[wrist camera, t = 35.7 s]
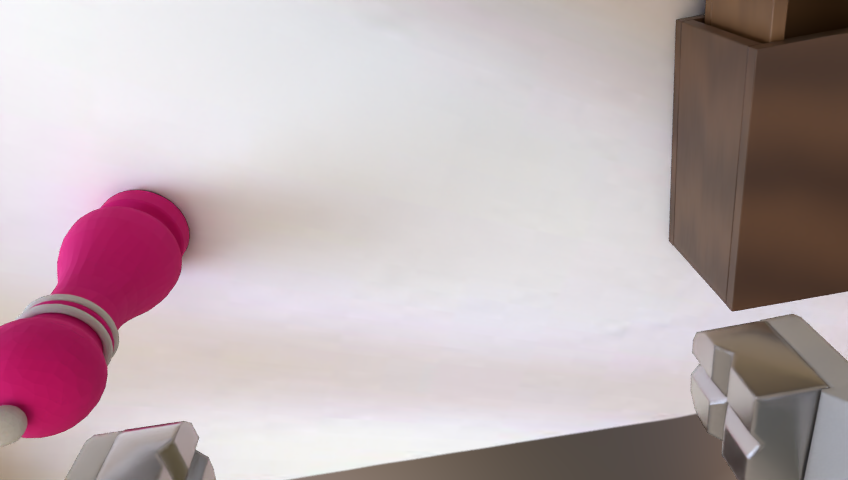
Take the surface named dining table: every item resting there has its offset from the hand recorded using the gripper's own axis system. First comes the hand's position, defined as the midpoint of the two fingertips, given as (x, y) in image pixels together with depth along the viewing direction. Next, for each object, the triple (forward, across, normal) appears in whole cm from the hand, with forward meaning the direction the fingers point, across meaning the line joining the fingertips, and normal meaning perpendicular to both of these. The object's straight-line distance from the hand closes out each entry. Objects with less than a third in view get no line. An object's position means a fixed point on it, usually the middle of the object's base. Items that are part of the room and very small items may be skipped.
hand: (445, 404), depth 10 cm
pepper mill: (+33, +20, +10) cm, 40 cm away
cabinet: (+33, -25, +10) cm, 43 cm away
